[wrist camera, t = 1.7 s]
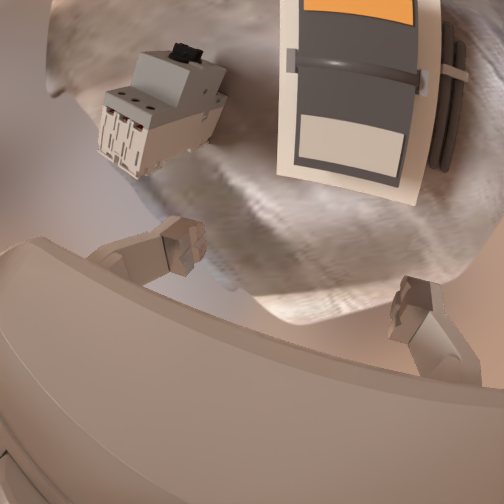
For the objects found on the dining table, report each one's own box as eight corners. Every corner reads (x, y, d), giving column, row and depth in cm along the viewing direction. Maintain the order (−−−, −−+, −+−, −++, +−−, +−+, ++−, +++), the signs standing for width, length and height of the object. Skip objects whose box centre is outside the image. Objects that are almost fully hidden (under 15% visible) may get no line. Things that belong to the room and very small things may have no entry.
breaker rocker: (300, -28, 14) (295, -34, 12) (416, -14, 10) (418, -20, 9) (295, 160, 26) (290, 165, 25) (399, 183, 22) (400, 189, 21)
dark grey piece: (441, 21, 16) (444, 18, 14) (465, 30, 15) (469, 28, 13) (425, 165, 27) (428, 169, 26) (447, 172, 26) (450, 177, 25)
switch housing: (295, -23, 19) (266, -52, 12) (428, -5, 14) (444, -32, 7) (291, 160, 35) (265, 186, 28) (409, 186, 30) (418, 222, 23)
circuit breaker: (246, 58, 29) (170, 56, 18) (208, 143, 38) (137, 181, 27) (201, 41, 29) (118, 39, 18) (171, 122, 39) (96, 153, 28)
